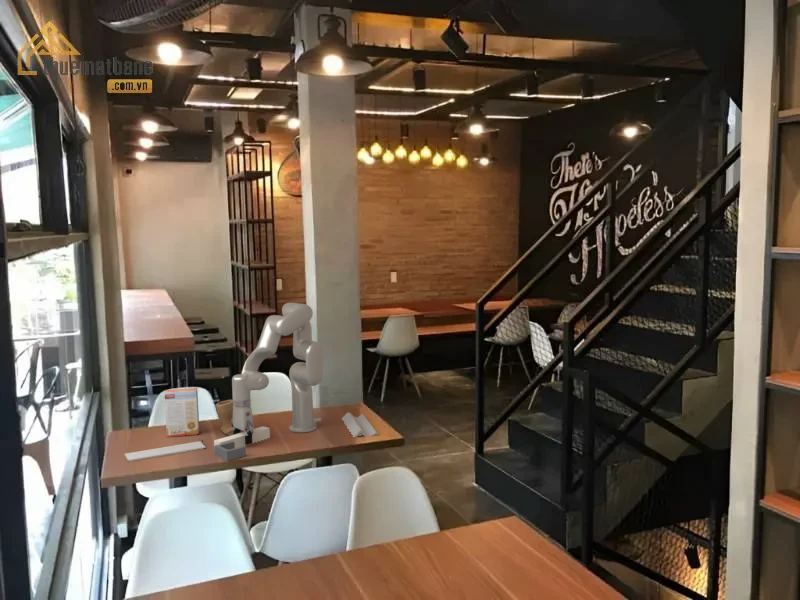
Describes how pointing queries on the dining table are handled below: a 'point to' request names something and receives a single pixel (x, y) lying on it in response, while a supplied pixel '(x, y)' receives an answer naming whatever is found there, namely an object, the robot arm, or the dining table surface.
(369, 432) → the crown molding
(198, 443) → the baseboard molding
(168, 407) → the cracker box
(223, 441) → the cream white rectangular bar
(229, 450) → the end cap
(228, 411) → the tan boot
